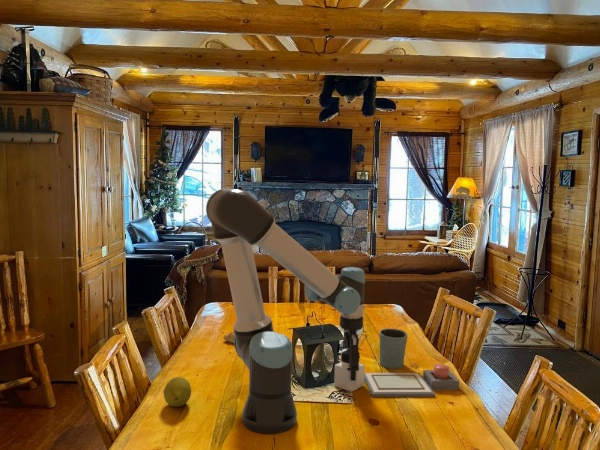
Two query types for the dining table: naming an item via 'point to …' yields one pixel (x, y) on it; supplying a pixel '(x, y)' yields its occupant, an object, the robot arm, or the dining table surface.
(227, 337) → the croissant
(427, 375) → the button housing
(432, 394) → the picture board
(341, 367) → the medicine bottle
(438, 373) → the button
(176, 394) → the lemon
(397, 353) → the grey cylindrical container
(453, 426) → the dining table surface
